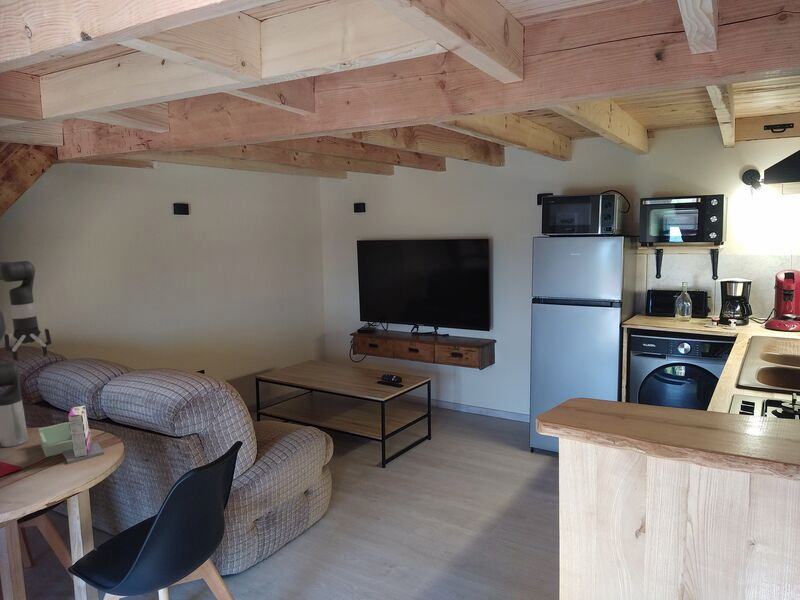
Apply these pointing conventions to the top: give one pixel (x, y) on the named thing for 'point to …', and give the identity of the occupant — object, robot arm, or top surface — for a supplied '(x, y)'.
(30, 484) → the top surface
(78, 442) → the candy bar box
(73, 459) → the slate tile
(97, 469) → the top surface
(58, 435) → the frame
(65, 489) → the top surface
